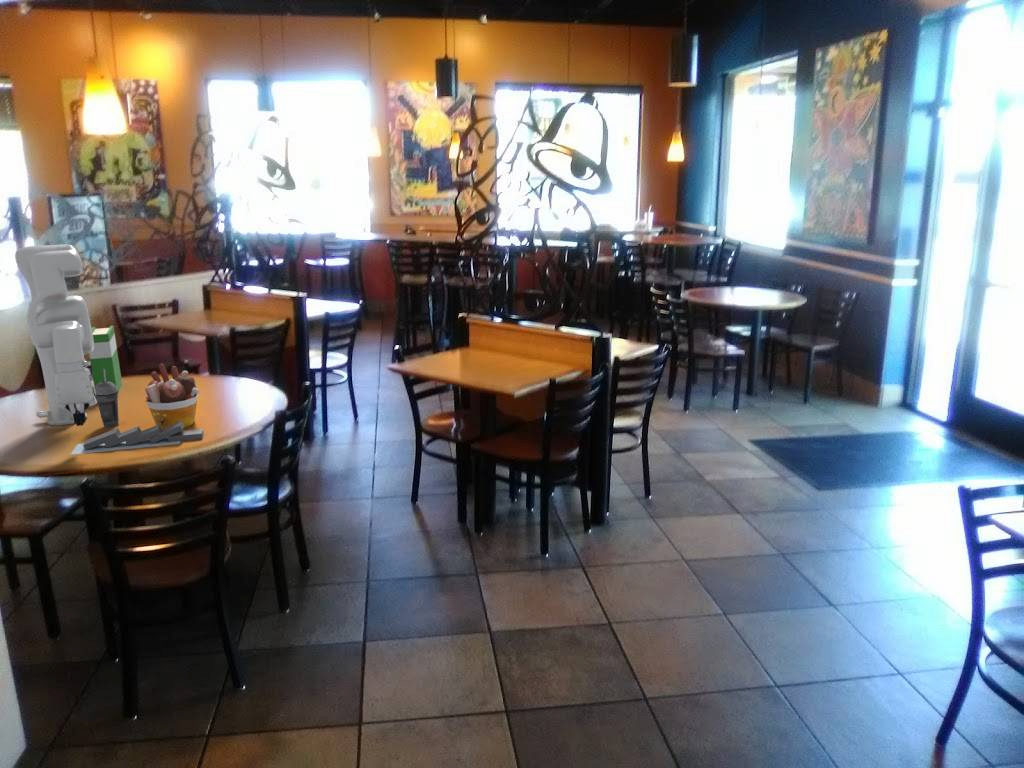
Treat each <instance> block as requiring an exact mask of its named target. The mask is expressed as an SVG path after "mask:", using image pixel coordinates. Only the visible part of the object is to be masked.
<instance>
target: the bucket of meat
mask: <svg viewBox="0 0 1024 768" xmlns="http://www.w3.org/2000/svg"><path fill="white" fill-rule="evenodd" d="M158 368H159V372H160V375H161V377H162V380H161V377H160V376H159V374H158V372H156V371H152V372H151V373H150V376H151V378H152V380H151V381H149V383H148V384H147V386H145V388H144V390H145V393H146V400H145V401H146V404H147V407H148V409H149V411H150V414H151V416H152V419H153V420H154V424H155V426H157V425H159V424H160V426H161V428H162V429H164V428H166V427H169V426H171V425H173V424H175V423H178V422H180V421H182V423H183V424H184V428H183V429H185V428H187V427H190V426H192V425H193V424H194V423H195V420H196V414H197V413H196V411H197V403H198V395H199V393H200V392H201V390H200V389H199V388H197V386H196V381H195V378H194V377H189V376H188V375H189V372H188V370H183V371H182V372H181V373H180V375H181V376H179V370H178V367H177V366H175V365H173V366H171V368H170V370H171V377H172V378H171V379H170V377H169V374H168V371H167V369H166V366H165V364H163V363H160V364H159V365H158Z"/></svg>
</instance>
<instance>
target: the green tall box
mask: <svg viewBox="0 0 1024 768" xmlns="http://www.w3.org/2000/svg"><path fill="white" fill-rule="evenodd" d="M114 327H115V326H114V325H110V326H109V327H103V328H102V327H101V328H96V326H93V327H92V326H91V329H92V334H93V340H94V350H93V351H92V352H91V353H90V354H88V355H89V361H90V367H91V372H92V373H91V375H92V379H93V383H94V387H95V388H96V386H97V385H98V384H99V383H100V382H102V381H105V380H104V370H103V369H105V374H106V381H110V382H112V383H113V384H114V385H115V386H116V387H117V390H118V394H119V393H120V390H121V389H122V388H121V387H122V385H123V380H122V374H121V368H120V360H119V354H118V348H117V347H118V346H117V341H116V334H115V328H114Z"/></svg>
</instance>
